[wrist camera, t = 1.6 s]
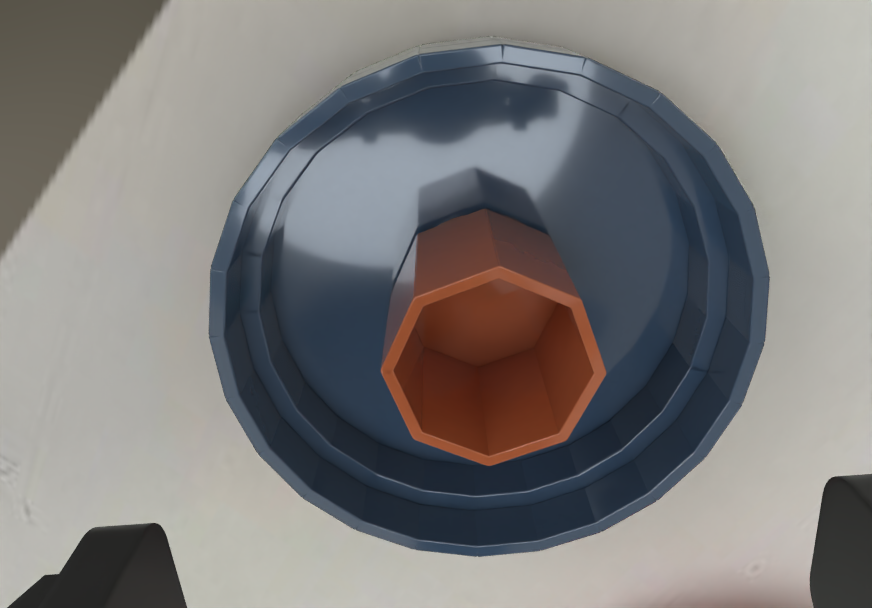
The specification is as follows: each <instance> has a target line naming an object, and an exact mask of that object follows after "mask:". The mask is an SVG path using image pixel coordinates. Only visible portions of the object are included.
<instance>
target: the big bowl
mask: <svg viewBox="0 0 872 608" xmlns="http://www.w3.org/2000/svg"><path fill="white" fill-rule="evenodd" d="M481 209H488V210H491V211H493V212H495V213H498V214H500V215H502V216H506V217H509V218H512V219H514V220H517V221H519V222H521V223H523V224H525V225H526V226H528V227H531V228H533V229H535V230H538V231H540V232H542V233H545V234H547V235H549V236H550V237H551V239H552V241H553V243H554V245H555V247H556V249H557V251H558V253H559V255H560V257H561V259H562V261H563V263H564V265H565V267H566V269H567V271H568V273H569V275H570V277H571V279H572V281H573V283H574V285H575V287H576V289H577V291H578V293H579V295H580V297H581V299H582V302H583V305H584V308H585V310H586V313H587V316H588V319H589V322H590V325H591V328H592V331H593V334H594V337H595V340H596V343H597V346H598V348H599V351H600V354H601V357H602V360H603V363H604V366H605V369H606V376H605V377H604V379H603V381H602V382H601V384H600V386H599V387H598V389H597V391H596V392H595V394H594V396H593V397H592V399H591V401H590V403H589V404H588V406H587V408H586V409H585V411H584V413H583V414H582V416H581V418H580V419H579V421H578V423H577V424H576V426H575V428H574V429H573V431H572V433H571V434H570V436H569V438H568V439H567V440H566V441H565V442H562V443H558V444H555V445H552V446H549V447H546V448H543V449H540V450H537V451H534V452H531V453H528V454H525V455H522V456H519V457H516V458H513V459H510V460H507V461H504V462H501V463H498V464H495V465H492V466H486V465H483V464H480V463H478V462H475V461H472V460H469V459H467V458H464V457H461V456H458V455H455V454H453V453H450V452H447V451H444V450H442V449H439V448H436V447H433V446H430V445H428V444H425V443H422V442H419V441H417V440H414V439H413V438H412V436H411V434H410V432H409V430H408V428H407V425H406V423H405V421H404V419H403V417H402V415H401V413H400V411H399V409H398V407H397V405H396V403H395V401H394V399H393V396H392V394H391V392H390V390H389V388H388V386H387V384H386V382H385V380H384V378H383V376H382V374H381V362H382V355H383V347H384V340H385V332H386V325H387V317H388V309H389V302H390V294H391V292H392V290H393V287H394V285H395V283H396V281H397V278H398V276H399V274H400V272H401V269H402V267H403V265H404V263H405V260H406V258H407V256H408V254H409V251H410V249H411V247H412V244H413V242H414V240H415V238H416V235H418V234H419V233H421V232H424V231H426V230H429V229H432V228H434V227H437V226H438V225H440V224H441V223H444V222H446V221H448V220H450V219H453V218H456V217H460V216H464V215H468V214H471V213H473V212H476V211H479V210H481ZM769 278H770V277H769V270H768V265H767V261H766V257H765V252H764V248H763V243H762V239H761V234H760V230H759V226H758V221H757V217H756V212H755V209H754V208H753V204H752V202H751V200H750V199H749V197H748V195H747V194H746V192H745V190H744V188H743V187H742V185H741V183H740V182H739V180H738V178H737V176H736V175H735V173H734V171H733V170H732V168H731V166H730V164H729V163H728V161H727V159H726V158H725V156H724V154H723V152H722V151H721V149H720V147H719V146H718V145H717V144H716V142H715V141H714V140H713V139H712V138H711V137H710V136H708V135H707V134H706V133H705V132H704V131H703V130H702V129H701V128H700V127H699V126H697V125H696V124H695V123H694V122H693V121H692V120H691V119H690V118H689V117H688V116H686V115H685V114H684V113H683V112H682V111H681V110H680V109H679V108H678V107H677V106H675V105H674V104H673V103H672V102H671V101H670V100H669V99H668V98H667V97H666V96H665V95H663V94H662V93H661V92H659V91H658V90H656V89H654V88H652V87H649V86H647V85H645V84H643V83H641V82H639V81H637V80H635V79H633V78H630V77H628V76H626V75H624V74H622V73H620V72H618V71H616V70H614V69H612V68H609V67H607V66H605V65H603V64H601V63H599V62H597V61H595V60H593V59H590V58H588V57H586V56H583V55H581V54H578V53H576V52H573V51H571V50H568V49H566V48H562V47H559V46H553V45H547V44H540V43H534V42H528V41H521V40H515V39H509V38H502V37H496V36H493V37H490V36H486V37H478V38H470V39H462V40H453V41H445V42H437V43H429V44H422V45H421V46H415V47H413V48H411V49H408V50H406V51H403V52H401V53H399V54H396V55H394V56H392V57H389V58H387V59H384V60H382V61H380V62H377V63H375V64H373V65H370V66H368V67H365V68H363V69H361V70H358V71H356V72H355V73H354V74H351V75H350V76H349V77H347V78H346V79H345V80H344V81H342V82H341V83H340V84H339V85H337V86H336V87H335V88H334V89H332V90H331V91H330V92H329V93H327V94H326V95H325V96H324V97H322V98H321V99H320V100H319V101H317V102H316V103H315V104H314V105H312V106H311V107H310V108H309V109H307V110H306V111H305V112H304V113H302V114H301V115H300V116H299V117H298V118H297V119H296V120H295V121H294V122H293V123H292V124H291V125H289V126H288V127H287V128H286V129H285V130H284V131H283V132H282V133H281V134H280V135H279V136H278V137H277V138H276V139H275V140H274V142H273V143H272V145H271V146H270V148H269V149H268V150H267V152H266V153H265V155H264V156H263V158H262V159H261V160H260V162H259V163H258V165H257V166H256V168H255V169H254V170H253V172H252V173H251V175H250V176H249V178H248V179H247V180H246V182H245V183H244V185H243V186H242V188H241V189H240V190H239V192H238V193H237V195H236V196H235V198H234V200H233V201H232V204H231V207H230V210H229V213H228V216H227V219H226V222H225V225H224V228H223V231H222V234H221V237H220V240H219V243H218V246H217V249H216V252H215V255H214V259H213V262H212V265H211V270H210V304H209V339H210V343H211V346H212V350H213V354H214V358H215V361H216V365H217V369H218V373H219V377H220V380H221V384H222V388H223V392H224V395H225V398H226V401H227V402H228V404H229V406H230V408H231V409H232V411H233V413H234V414H235V416H236V418H237V419H238V421H239V423H240V424H241V426H242V428H243V430H244V431H245V433H246V435H247V436H248V438H249V440H250V441H251V443H252V445H253V447H254V448H255V450H256V452H257V453H258V454H259V455H260V456H261V457H262V458H263V459H264V460H265V461H266V462H267V463H268V464H269V465H270V466H271V467H272V468H273V469H274V470H275V471H276V472H277V473H278V474H279V475H280V476H281V477H282V478H283V479H284V480H285V481H286V482H287V483H288V484H289V485H290V486H291V487H292V488H293V489H294V490H295V491H296V492H297V493H298V494H299V495H300V496H301V497H303V499H305V500H307V501H308V502H310V503H312V504H313V505H315V506H316V507H318V508H320V509H321V510H323V511H325V512H326V513H328V514H330V515H331V516H333V517H335V518H336V519H338V520H340V521H341V522H343V523H345V524H346V525H348V526H350V527H351V528H353V529H356V530H357V531H360V532H363V533H366V534H369V535H372V536H375V537H378V538H381V539H384V540H387V541H390V542H393V543H396V544H399V545H402V546H405V547H408V548H411V549H416V550H421V551H430V552H439V553H448V554H457V555H466V556H475V557H476V556H478V557H482V556H493V555H503V554H514V553H524V552H535V551H540V550H545V549H548V548H551V547H554V546H558V545H561V544H564V543H567V542H571V541H574V540H577V539H580V538H584V537H587V536H590V535H593V534H597V533H600V532H601V531H604V530H606V529H608V528H609V527H611V526H613V525H615V524H617V523H618V522H620V521H622V520H624V519H626V518H627V517H629V516H631V515H633V514H635V513H636V512H638V511H640V510H642V509H643V508H645V507H647V506H649V505H651V504H652V503H654V502H656V500H659V499H660V498H661V497H662V496H663V495H664V494H665V493H667V492H668V491H669V490H670V489H671V488H672V487H673V486H674V485H676V484H677V483H678V482H679V481H680V480H681V479H682V478H683V477H684V476H686V475H687V474H688V473H689V472H690V471H691V470H692V469H693V468H695V467H696V466H697V465H698V464H699V463H700V462H701V461H702V460H703V459H704V457H706V456H707V455H708V454H709V452H710V451H711V449H712V448H713V446H714V445H715V443H716V442H717V441H718V439H719V438H720V436H721V435H722V433H723V432H724V430H725V429H726V428H727V426H728V425H729V423H730V422H731V420H732V419H733V417H734V416H735V415H736V413H737V412H738V410H739V409H740V407H741V406H742V403H743V401H744V398H745V396H746V393H747V390H748V387H749V385H750V382H751V379H752V376H753V374H754V371H755V368H756V365H757V363H758V360H759V357H760V354H761V352H762V349H763V346H764V342H765V333H766V319H767V306H768V292H769Z"/></svg>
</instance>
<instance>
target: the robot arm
mask: <svg viewBox="0 0 872 608" xmlns="http://www.w3.org/2000/svg"><path fill="white" fill-rule="evenodd" d="M810 591H811V597H812V602H813V606H814V608H872V474H865V475H851V476H837V477H832V478H831V479H829V480H828V482H827V483H826V485H825V487H824V491H823V496H822V502H821V509H820V515H819V521H818V528H817V534H816V540H815V547H814V553H813V559H812V566H811V572H810ZM7 608H187V606H186V602H185V599H184V595H183V592H182V588H181V585H180V581H179V578H178V575H177V571H176V568H175V564H174V561H173V557H172V554H171V550H170V547H169V543H168V540H167V537H166V534H165V532H164V530H163V528H162V527H161V526H160V525H159V524H156V523H148V524H134V525H120V526H106V527H95V528H92V529H91V530H89V531H88V532H87V533H86V534H85V535H84V537H83V538H82V539H81V541H80V543H79V544H78V546H77V547H76V549H75V550H74V552H73V553H72V555H71V557H70V558H69V560H68V561H67V563H66V564H65V566H64V568H63V569H62V571H61V572H60V574H55V575H44V576H43V577H42V578H41V579H40V580H39V581H37V582H36V583H35V584H34V585H33V586H32V587H30V588H29V589H28V590H27V591H26V592H25V593H24V594H22V595H21V596H20V597H19V598H18V599H17V600H15V601H14V602H13V603H12V604H11V605H10V606H9V607H7Z"/></svg>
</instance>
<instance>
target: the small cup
mask: <svg viewBox="0 0 872 608" xmlns="http://www.w3.org/2000/svg"><path fill="white" fill-rule="evenodd" d="M381 374H382V376H383V378H384V380H385V382H386V384H387V386H388V388H389V390H390V392H391V394H392V396H393V399H394V401H395V403H396V405H397V407H398V409H399V411H400V413H401V415H402V417H403V419H404V421H405V423H406V425H407V428H408V430H409V432H410V434H411V436H412V438H413V439H414V440H417V441H419V442H422V443H425V444H428V445H430V446H433V447H436V448H439V449H442V450H444V451H447V452H450V453H453V454H455V455H458V456H461V457H464V458H467V459H469V460H472V461H475V462H478V463H480V464H483V465H486V466H492V465H495V464H498V463H501V462H504V461H507V460H510V459H513V458H516V457H519V456H522V455H525V454H528V453H531V452H534V451H537V450H540V449H543V448H546V447H549V446H552V445H555V444H558V443H562V442H565V441H566V440H567V439H568V438H569V436H570V434H571V433H572V431H573V429H574V428H575V426H576V424H577V423H578V421H579V419H580V418H581V416H582V414H583V413H584V411H585V409H586V408H587V406H588V404H589V403H590V401H591V399H592V397H593V396H594V394H595V392H596V391H597V389H598V387H599V386H600V384H601V382H602V381H603V379H604V377H605V376H606V369H605V366H604V363H603V360H602V357H601V354H600V351H599V348H598V346H597V343H596V340H595V337H594V334H593V331H592V328H591V325H590V322H589V319H588V316H587V313H586V310H585V308H584V305H583V302H582V299H581V297H580V295H579V293H578V291H577V289H576V287H575V285H574V283H573V281H572V279H571V277H570V275H569V273H568V271H567V269H566V267H565V265H564V263H563V261H562V259H561V257H560V255H559V253H558V251H557V249H556V247H555V245H554V243H553V241H552V239H551V237H550V236H549V235H547V234H545V233H542V232H540V231H538V230H535V229H533V228H531V227H528V226H526V225H525V224H523V223H521V222H519V221H517V220H514V219H512V218H509V217H506V216H502V215H500V214H498V213H495V212H493V211H491V210H488V209H481V210H479V211H476V212H473V213H471V214H468V215H464V216H460V217H456V218H453V219H450V220H448V221H446V222H444V223H441V224H440V225H438V226H437V227H434V228H432V229H429V230H426V231H424V232H421V233H419V234H418V235H416V238H415V240H414V242H413V244H412V247H411V249H410V251H409V254H408V256H407V258H406V260H405V263H404V265H403V267H402V269H401V272H400V274H399V276H398V278H397V281H396V283H395V285H394V287H393V290H392V292H391V294H390V302H389V309H388V317H387V325H386V332H385V340H384V347H383V355H382V362H381Z"/></svg>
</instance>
